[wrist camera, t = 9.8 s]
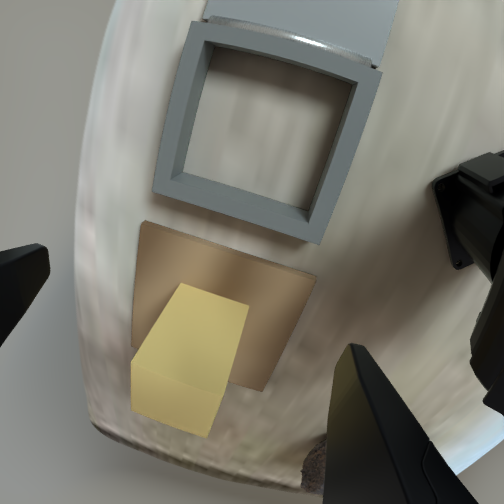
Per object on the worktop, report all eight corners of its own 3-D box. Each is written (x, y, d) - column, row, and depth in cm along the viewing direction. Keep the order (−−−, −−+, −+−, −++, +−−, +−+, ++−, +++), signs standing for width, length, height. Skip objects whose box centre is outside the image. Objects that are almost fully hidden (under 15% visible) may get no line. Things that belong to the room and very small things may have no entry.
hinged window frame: (411, -59, 10) (420, -71, 8) (318, 231, 20) (319, 245, 18) (252, -100, 10) (247, -115, 8) (165, 182, 20) (151, 191, 18)
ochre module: (249, 305, 22) (223, 396, 15) (232, 353, 24) (206, 438, 17) (180, 282, 22) (130, 362, 15) (172, 332, 25) (131, 410, 17)
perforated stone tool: (439, 431, 27) (449, 482, 21) (415, 453, 30) (421, 501, 24) (317, 419, 28) (313, 481, 22) (301, 443, 31) (295, 498, 24)
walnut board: (316, 276, 21) (316, 281, 20) (263, 386, 27) (262, 391, 26) (145, 220, 21) (141, 223, 21) (134, 341, 27) (131, 346, 26)
